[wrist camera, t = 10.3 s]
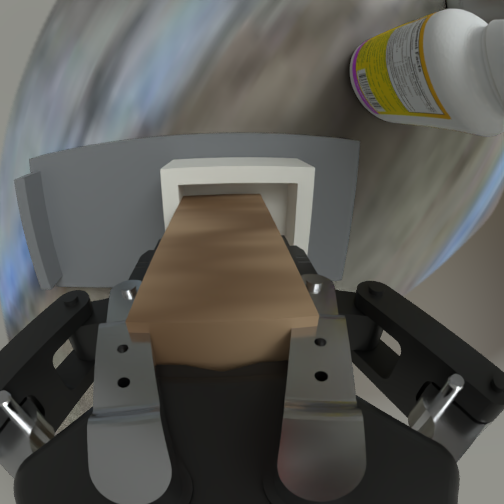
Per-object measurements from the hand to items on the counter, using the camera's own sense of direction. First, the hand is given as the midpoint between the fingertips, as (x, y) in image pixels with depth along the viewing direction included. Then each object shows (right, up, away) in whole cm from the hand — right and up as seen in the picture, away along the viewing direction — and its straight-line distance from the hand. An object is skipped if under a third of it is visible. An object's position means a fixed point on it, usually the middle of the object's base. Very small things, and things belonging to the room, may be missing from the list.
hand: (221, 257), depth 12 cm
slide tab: (0, +2, +5) cm, 5 cm away
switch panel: (-3, +3, +6) cm, 8 cm away
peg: (0, +1, +3) cm, 3 cm away
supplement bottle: (+11, +13, +4) cm, 17 cm away
